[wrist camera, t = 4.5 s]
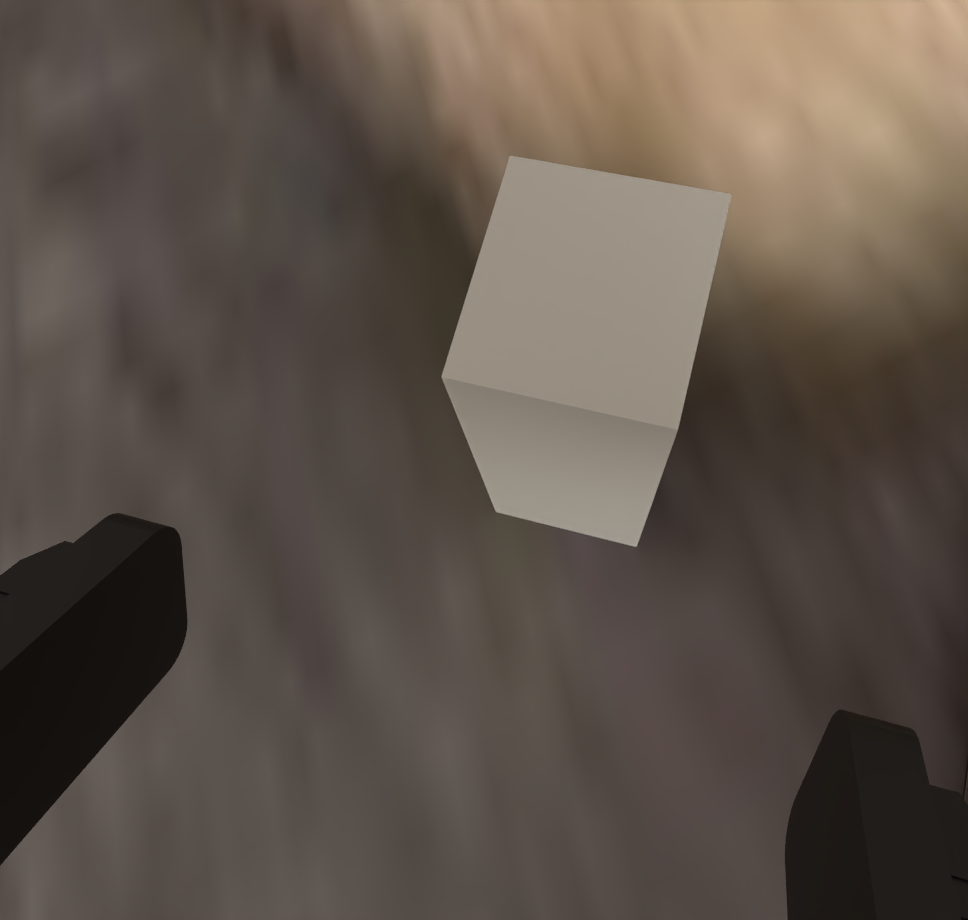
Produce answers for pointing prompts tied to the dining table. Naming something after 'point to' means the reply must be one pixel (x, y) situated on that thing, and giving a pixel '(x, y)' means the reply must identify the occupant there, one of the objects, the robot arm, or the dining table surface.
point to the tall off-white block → (582, 341)
